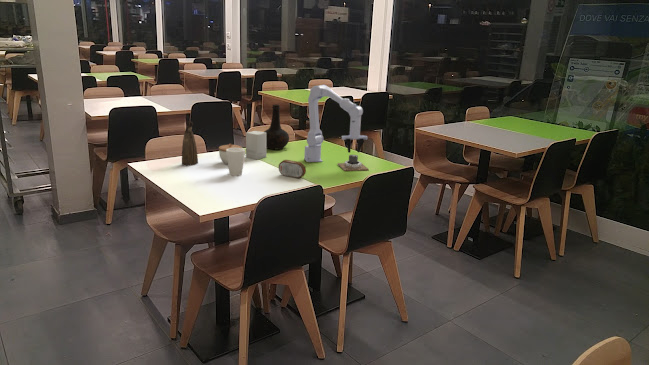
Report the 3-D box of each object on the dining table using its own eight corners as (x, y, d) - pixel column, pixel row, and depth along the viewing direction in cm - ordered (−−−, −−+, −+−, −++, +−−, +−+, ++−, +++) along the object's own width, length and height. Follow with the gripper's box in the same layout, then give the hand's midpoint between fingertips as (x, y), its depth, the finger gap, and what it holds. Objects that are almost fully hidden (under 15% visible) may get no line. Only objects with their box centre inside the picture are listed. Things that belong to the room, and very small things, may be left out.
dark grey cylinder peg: (350, 167, 270) (350, 156, 268) (347, 165, 275) (347, 154, 273) (358, 166, 271) (359, 156, 270) (355, 164, 276) (356, 154, 274)
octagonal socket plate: (344, 171, 265) (344, 165, 264) (337, 164, 278) (337, 159, 277) (368, 170, 268) (369, 165, 268) (360, 163, 281) (360, 158, 280)
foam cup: (229, 177, 245) (229, 152, 241) (224, 172, 252) (223, 148, 249) (247, 175, 249) (247, 151, 245) (241, 171, 257) (241, 147, 253)
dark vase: (257, 150, 305) (257, 105, 297) (265, 144, 322) (265, 102, 314) (285, 152, 302) (285, 107, 294) (291, 146, 319) (292, 103, 311)
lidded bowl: (214, 163, 268) (214, 144, 265) (227, 159, 280) (226, 140, 276) (234, 167, 264) (233, 147, 261) (246, 162, 275) (246, 143, 272)
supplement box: (267, 157, 288) (267, 132, 284) (257, 159, 281) (257, 134, 277) (255, 154, 293) (255, 130, 288) (245, 157, 285) (245, 132, 281)
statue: (194, 166, 262) (190, 120, 255) (180, 166, 262) (176, 120, 255) (199, 162, 270) (195, 118, 263) (186, 162, 270) (182, 117, 264)
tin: (305, 178, 249) (306, 162, 246) (303, 179, 246) (303, 163, 244) (280, 173, 255) (280, 158, 252) (277, 175, 252) (277, 159, 250)
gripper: (344, 129, 261) (343, 154, 265) (369, 129, 265) (368, 153, 269) (341, 127, 268) (339, 151, 271) (365, 127, 271) (364, 150, 275)
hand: (353, 152), depth 271 cm, fingers open, 5 cm apart
